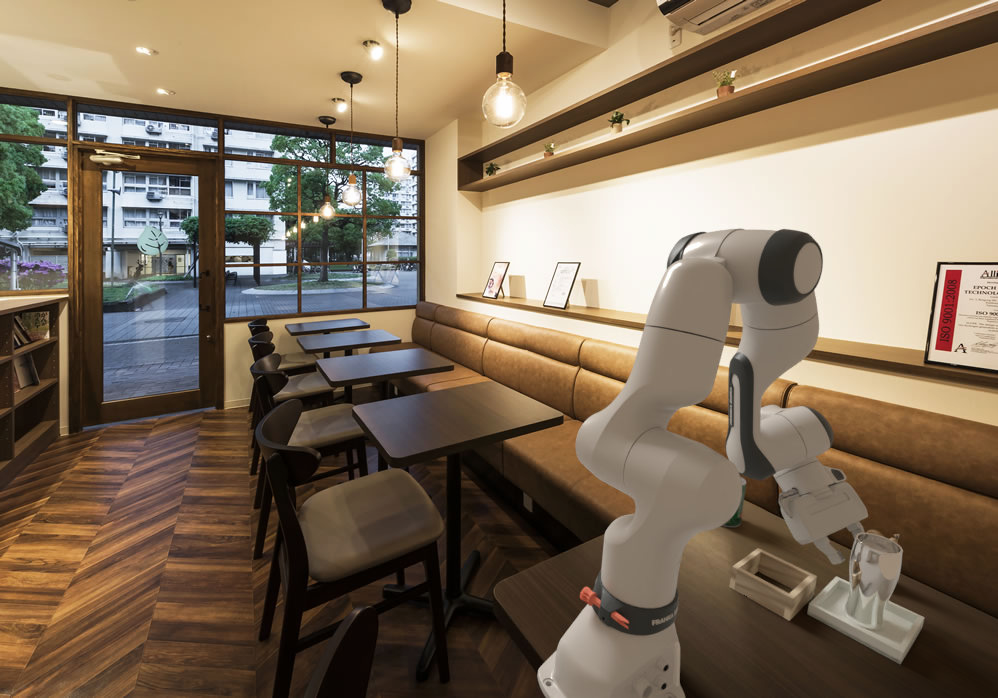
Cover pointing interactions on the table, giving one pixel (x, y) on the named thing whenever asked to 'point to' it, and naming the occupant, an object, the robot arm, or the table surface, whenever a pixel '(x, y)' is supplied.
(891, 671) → the table surface
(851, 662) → the table surface
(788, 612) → the square frame
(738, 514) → the canned tomato
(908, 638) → the tray
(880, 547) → the beer glass
